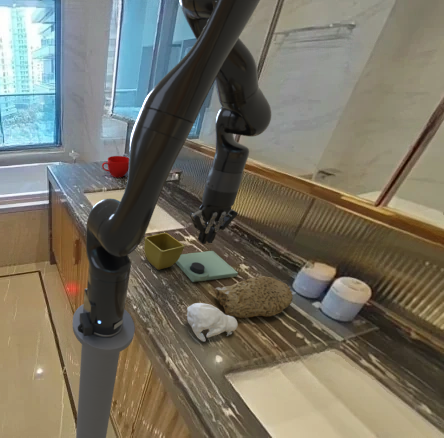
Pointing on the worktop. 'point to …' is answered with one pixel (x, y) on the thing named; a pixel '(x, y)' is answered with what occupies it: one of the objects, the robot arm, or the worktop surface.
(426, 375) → the worktop surface
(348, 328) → the worktop surface
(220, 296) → the sponge
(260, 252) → the worktop surface
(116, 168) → the ceramic cup
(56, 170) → the worktop surface
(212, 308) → the white animal figurine
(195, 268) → the button
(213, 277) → the scale
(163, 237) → the flower pot
